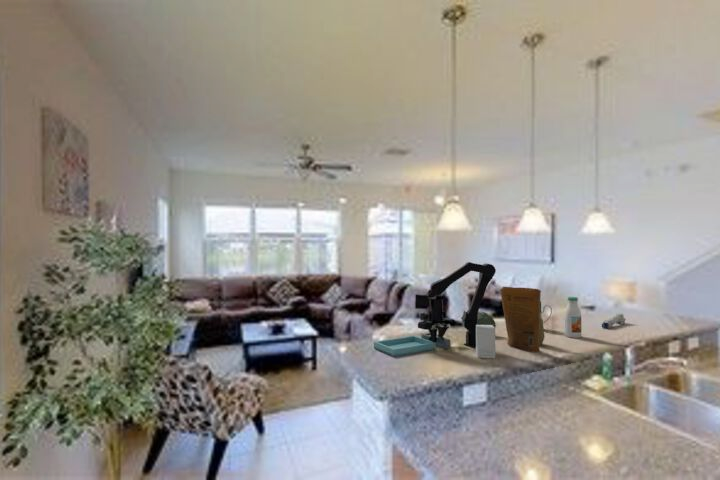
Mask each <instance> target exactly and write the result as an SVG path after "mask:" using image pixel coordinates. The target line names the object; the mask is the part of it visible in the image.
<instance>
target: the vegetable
mask: <svg viewBox="0 0 720 480" xmlns="http://www.w3.org/2000/svg"><path fill="white" fill-rule="evenodd" d="M477 325H493V326H494V328H495V329H496V325H497V324H496V321H495V320H494V317H493V316H492V315H490V314H488V313H487V312H484V311H482V312H478V320H477Z"/></svg>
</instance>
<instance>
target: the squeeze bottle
mask: <svg viewBox="0 0 720 480" xmlns="http://www.w3.org/2000/svg"><path fill="white" fill-rule="evenodd" d="M540 317H541V314H540ZM543 322H544V320H543V319H541V318H540V322H539V337H538V339H539V346H541V345H543V343H544V340H545V338H546V336H545V329H544V323H543Z"/></svg>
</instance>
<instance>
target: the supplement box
mask: <svg viewBox="0 0 720 480" xmlns="http://www.w3.org/2000/svg"><path fill="white" fill-rule="evenodd" d="M475 354H476V357H477V358H479V359H481V358H482V359H486V358H487V359H496V327H495V328H494V326H493V325H476V347H475Z"/></svg>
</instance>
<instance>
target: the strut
mask: <svg viewBox="0 0 720 480" xmlns="http://www.w3.org/2000/svg"><path fill="white" fill-rule="evenodd" d="M429 335H430V332H427V333H421V334H420V338H423V339H426V340H429V341H432V342H433V340H432V337H431V336H429ZM435 343H436V347H439V348H441V349H444V350H448V349H451V339H450V338H446V337H444V336H443V337H440V336H438V333H437V336H436V342H435Z"/></svg>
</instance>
